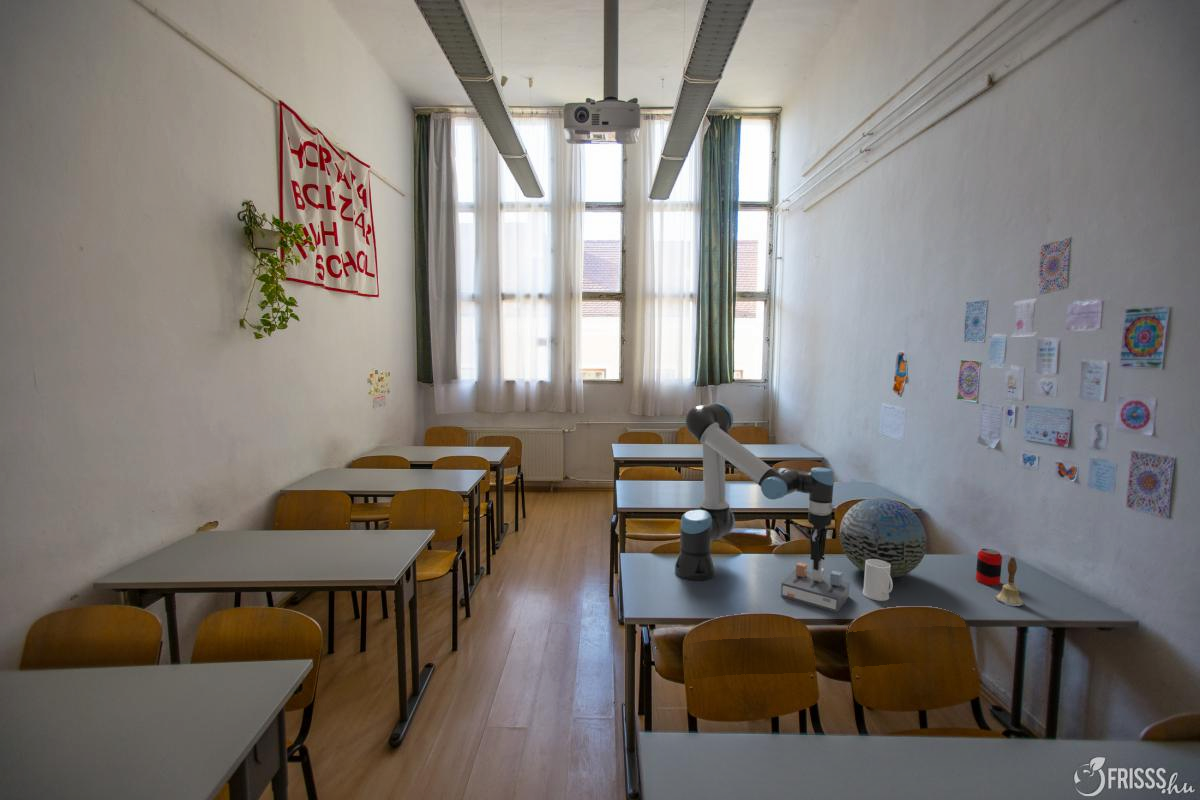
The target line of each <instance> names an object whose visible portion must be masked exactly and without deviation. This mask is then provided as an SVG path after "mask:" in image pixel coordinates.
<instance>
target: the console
mask: <svg viewBox="0 0 1200 800" xmlns="http://www.w3.org/2000/svg"><path fill="white" fill-rule="evenodd" d="M830 578H831V577H827V576H824V578H823V580H822V582H818V581H814V580H812V572H808V571H807V575H806V576H805V577H801V576H797V575H796V568H795V569H794V570H793V571H792V572H791V573H790V574H789V575H788V576H787V577H786V578H785V579H784V580H783V581H782V582H781V586H780V587H781V589H780V597H781V598H785V599H789V600H793V601H795V602H796V601H797V602H800V603H802V604H806V605H810V606H813V607H817V608H819V609H824V610H827V611H831V612H834V613H838V612H839V611H840V610H841V609H842V608H843V606H844V604H845V603H846V602H847V600H848V598H849V595H850V582H846V581H842V582H841V585H840V586H835V585H831V584H830Z"/></svg>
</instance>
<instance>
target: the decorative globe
mask: <svg viewBox="0 0 1200 800" xmlns="http://www.w3.org/2000/svg"><path fill="white" fill-rule="evenodd" d="M839 541H840V545H841V548H842V551H843V553H844V554H845V556H846V558H847V560H849V561H850V562H851V563H852V564H853V566H855V567H856V568H857V569H859V570H860V571H861V572H864V573H865V561H866V560H868V559H878V560H883V561H886V562H888V563H889V564H890V565H891V569H890V576H891V579H893V578H899V577H902V576H906V575H907V574H909V573H910V572H912V571H913V570H914V569H916V568H917V567H918V566H919V564H920V563H921V562H922V560H923V559H924V557H925V553H926V550H927V541H928V540H927V534H926V530H925V528H924V525H923V523H922V521H921V520H920V518H919V516H917V514H916V513H915V512H914V511H913V510H912V509H910V508H909V507H907V505H904V504H903V503H901V502H899V501H897V500H894V499H889V498H885V497H871V498H867V499H864V500H861V501H859V502H857V503H856V504H854V505H853V506H851V507H850V508H849V509H848V510H847V512H845V514H844V515H843V517H842V519H841V522H840V526H839Z"/></svg>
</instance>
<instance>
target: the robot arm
mask: <svg viewBox="0 0 1200 800" xmlns="http://www.w3.org/2000/svg"><path fill="white" fill-rule="evenodd" d="M685 416H686V418H685V426H686V429H687V431H688V432H689V433H690V435H691V436H692V437H694V438H695V440H696V441H698V442H699V443H701V444H702V470H703V471H702V473H703V474H702V475H703V476H702V477H703V478H702V481H703V501H702V502H701V503H700V505H699V509H692V510H688V511H686V512H684V513H683V514H682V516H681V519H680V520H681V521H680V540H679V544H680V546H679V548H680V549H679V554H678V557H677V559H676V561H675V566H674V572H675V574H676V575H677V576H678V577H680V578H682V579H685V580H688V581H689V580H691V581H706V580H707V581H708V580H711V579H712V578H713V577H714V576H715V566H714V562H713V559H712V555H711V550H712V548H711V547H712V542H714V541H716V540H719V539H720V538H724V537H725V536H727V535H729V534H730V533H731V532H732V530H733V529H734V527H735V524H736V520H735V519H736V518H735V515H734V512H732V510H731V508H730V504H729V503H728V501H726V464H725V463H726V461H727V462H729V463H730V464H732V465H733V466H734V467H735V468H737V469H738V470H739V471H740V472H742V473H743V474H744V475H746V476H747V477H748V478H749V479H750V480H752V481H753V482H755V484H757V485H758V486H760V489H761V490H760V491H761V492H762V495H763V496H764V497H765V498H767V499H768V500H779V499H782V498H784V497H785V496H788V495H790V494H792V493H795V492H796V493H797V492H798V493H802V494H803V493H804V494H808V495H809V497H808V513H807V514H808V515H807V517H808V518H807V522H808V523H809V524H810V525H813V527H812V528H811V535H809V541H810V558H809V559H810V560H812V564H811V565H812V569H811V573H812V577H813V578H817V579H820V578H821V568H822V566H823V565H822V563H823V561H824V560H825V559H826V558H825V549H826V540H827V533H828V527H829V526H831V525H832V511H833V508H834V507H835V506H834V505H833V498H834V497H833V496H834V495H833V493H834V486H835V485H834V484H835V482H834V471H833V470H832V469H830V468H827V467H820V466H817V467H812V468H811V469H810V471H804V470H799V469H792V468H785V467H780V468H779V469H778V470H777V471H776V470H775V469H773V468H772V467H771V466H769V464H767V462H764V461H763V460H762V459H761V458H759V457H758V456H756V455H755V454H754V453H753V452H751V450H749V449H748V448H746V447H745V446H744V445H742V444H741V443H740V442H739V441H737V440H736V439H734V438H733V437H732V436H730V435H729V430H730V429H731V428H732V427H733V425H734V416H733V412H732V411H731V409H729V407H728V406H727V405H725V404H722V403H708V404H700V405H697V406H693V407H692V408H691V409H690V410H688V412H687V414H686V415H685Z"/></svg>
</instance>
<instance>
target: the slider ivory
mask: <svg viewBox="0 0 1200 800" xmlns="http://www.w3.org/2000/svg"><path fill="white" fill-rule="evenodd" d="M824 574H825V568H821V578H820V579H817V578H813V577H812V580H814V581H818V582H822V580H823V578H824V577H825V575H824Z"/></svg>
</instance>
